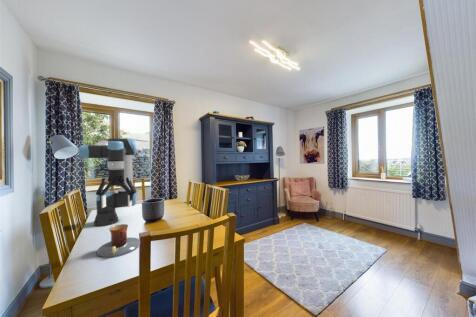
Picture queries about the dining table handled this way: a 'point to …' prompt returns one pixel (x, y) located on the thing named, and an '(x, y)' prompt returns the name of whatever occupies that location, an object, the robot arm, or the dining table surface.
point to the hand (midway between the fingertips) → (117, 206)
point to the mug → (119, 235)
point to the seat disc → (110, 251)
